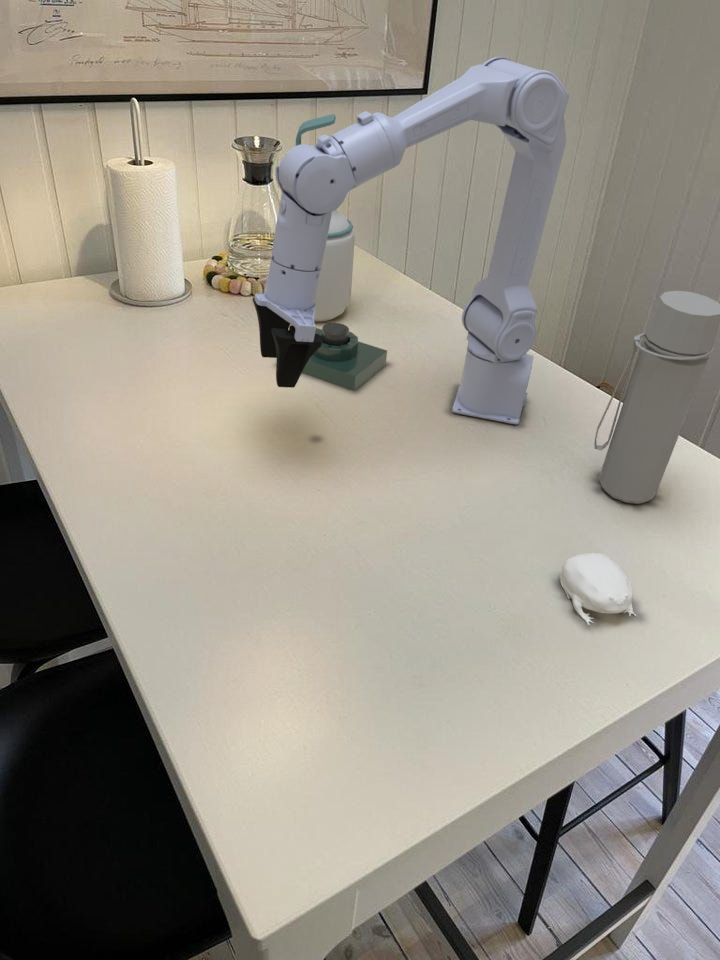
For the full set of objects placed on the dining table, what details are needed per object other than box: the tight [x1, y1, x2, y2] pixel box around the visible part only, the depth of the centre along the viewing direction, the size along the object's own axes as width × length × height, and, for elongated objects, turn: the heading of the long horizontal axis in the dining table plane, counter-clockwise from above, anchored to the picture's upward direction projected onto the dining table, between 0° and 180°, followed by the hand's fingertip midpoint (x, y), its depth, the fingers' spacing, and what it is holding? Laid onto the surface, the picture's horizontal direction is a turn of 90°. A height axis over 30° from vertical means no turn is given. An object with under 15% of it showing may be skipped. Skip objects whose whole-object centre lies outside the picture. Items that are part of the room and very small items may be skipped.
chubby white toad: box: [559, 552, 637, 626], centre depth 78 cm, size 8×7×4 cm
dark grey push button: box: [321, 322, 350, 346], centre depth 112 cm, size 4×4×2 cm
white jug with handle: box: [295, 113, 356, 323], centre depth 121 cm, size 12×12×31 cm
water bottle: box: [593, 290, 720, 505], centre depth 88 cm, size 9×8×25 cm
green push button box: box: [301, 327, 388, 392], centre depth 114 cm, size 13×10×4 cm
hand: (277, 370), depth 91 cm, fingers open, 7 cm apart
